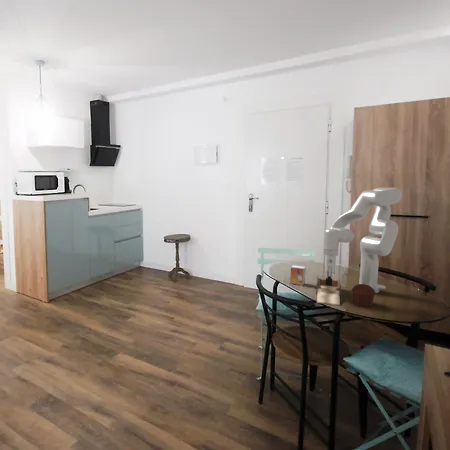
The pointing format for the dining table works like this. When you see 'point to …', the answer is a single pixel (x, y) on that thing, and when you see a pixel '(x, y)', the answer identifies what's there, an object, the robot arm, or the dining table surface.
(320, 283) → the walnut box
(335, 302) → the lid
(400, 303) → the dining table surface
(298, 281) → the small box
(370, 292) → the muffin
